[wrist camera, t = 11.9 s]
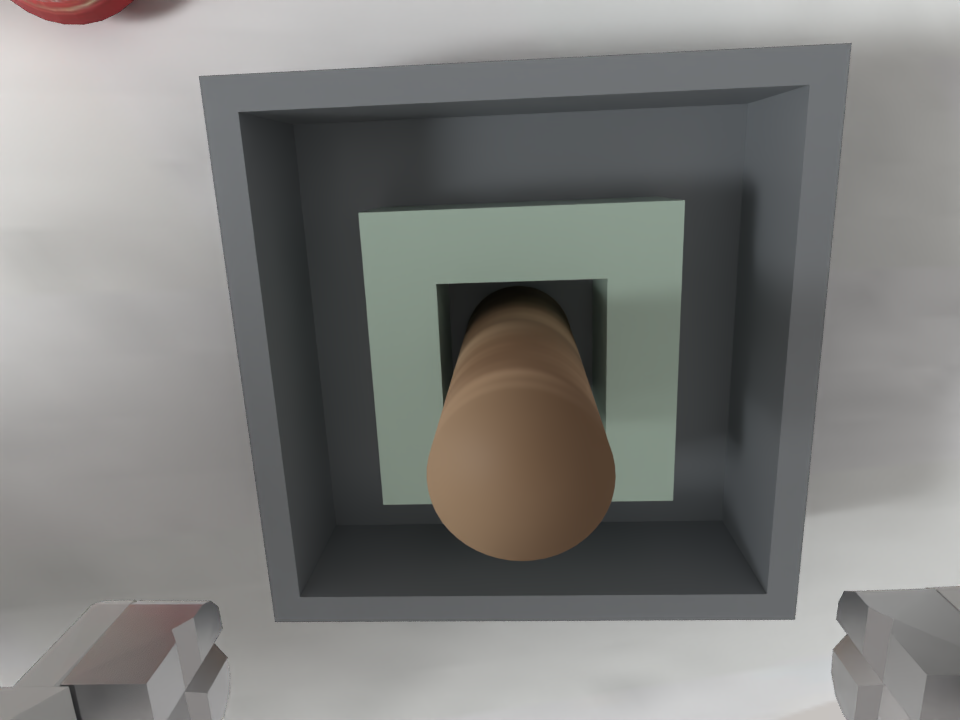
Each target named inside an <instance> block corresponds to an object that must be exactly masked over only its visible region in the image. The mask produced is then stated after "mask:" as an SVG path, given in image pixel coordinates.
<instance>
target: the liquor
mask: <svg viewBox="0 0 960 720" xmlns="http://www.w3.org/2000/svg"><path fill="white" fill-rule="evenodd" d="M11 1H12V2H14V3H15V4H17V5H18V6H20V7H21V8H23V9H24V10H26V11H27V12H29V13H31V14H34V15H36V16H38V17H40V18H43V19H45V20H48V21H53V22H57V23H61V24H82V25H84V24H89V23H93V22H98V21H102V20H104V19H106V18H108V17H110V16H113V15H115V14H117V13H119V12H120V11H121V10H122V9H124V8H125V7H126V6H127V5H129V4H130V3H131V2H132V1H134V0H11Z"/></svg>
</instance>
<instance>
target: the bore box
mask: <svg viewBox="0 0 960 720" xmlns="http://www.w3.org/2000/svg"><path fill="white" fill-rule="evenodd" d="M850 52H851V43H843V44H824V45H804V46H784V47H764V48H745V49H725V50H705V51H685V52H666V53H646V54H626V55H606V56H587V57H567V58H547V59H527V60H508V61H488V62H468V63H449V64H429V65H409V66H389V67H370V68H350V69H330V70H310V71H291V72H271V73H251V74H231V75H212V76H199V80H200V87H201V95H202V102H203V109H204V116H205V123H206V130H207V137H208V145H209V152H210V159H211V166H212V173H213V180H214V188H215V195H216V202H217V209H218V216H219V223H220V230H221V238H222V245H223V252H224V259H225V266H226V273H227V280H228V288H229V295H230V302H231V309H232V316H233V323H234V331H235V338H236V345H237V352H238V359H239V366H240V373H241V381H242V388H243V395H244V402H245V409H246V416H247V424H248V431H249V438H250V445H251V452H252V459H253V466H254V474H255V481H256V488H257V495H258V502H259V509H260V517H261V524H262V531H263V538H264V545H265V552H266V559H267V567H268V574H269V581H270V588H271V595H272V602H273V610H274V617H275V622H373V621H600V620H795V613H796V603H797V593H798V583H799V573H800V562H801V552H802V542H803V532H804V522H805V511H806V501H807V491H808V481H809V470H810V460H811V450H812V440H813V430H814V419H815V409H816V399H817V389H818V379H819V368H820V358H821V348H822V338H823V328H824V317H825V307H826V297H827V287H828V277H829V266H830V256H831V246H832V236H833V226H834V215H835V205H836V195H837V185H838V175H839V164H840V154H841V144H842V134H843V123H844V113H845V103H846V93H847V83H848V72H849V62H850ZM511 286H526V287H531V288H535V289H538V290H540V291H542V292H544V293H546V294H548V295H549V296H551V297H552V298H553V299H554V300H555V301H556V302H557V303H558V304H559V305H560V306H561V308H562V309H563V311H564V313H565V315H566V316H567V319H568V322H569V325H570V328H571V331H572V334H573V337H574V340H575V343H576V346H577V349H578V352H579V355H580V358H581V361H582V364H583V367H584V370H585V373H586V376H587V379H588V382H589V385H590V388H591V391H592V394H593V397H594V400H595V403H596V406H597V409H598V412H599V415H600V418H601V421H602V424H603V427H604V430H605V433H606V436H607V439H608V442H609V445H610V448H611V451H612V454H613V458H614V463H615V473H616V480H615V489H614V494H613V498H612V501H611V503H610V506H609V508H608V511H607V512H606V514H605V516H604V518H603V519H602V521H601V522H600V524H599V525H598V526H597V527H596V529H595V530H594V531H593V532H592V533H591V534H590V535H589V536H588V537H587V538H585V539H584V540H583V541H582V542H580V543H579V544H578V545H576V546H574V547H572V548H571V549H569V550H567V551H565V552H563V553H560V554H558V555H555V556H552V557H548V558H545V559H539V560H532V561H511V560H505V559H499V558H495V557H492V556H488V555H486V554H483V553H481V552H479V551H476V550H475V549H473V548H471V547H469V546H468V545H466V544H465V543H463V542H462V541H461V540H459V539H458V538H457V537H456V536H455V535H453V534H452V533H451V532H450V531H449V530H448V528H447V527H446V526H445V525H444V524H443V522H442V521H441V519H440V518H439V516H438V514H437V513H436V511H435V509H434V507H433V504H432V502H431V499H430V495H429V492H428V486H427V463H428V457H429V453H430V450H431V447H432V443H433V440H434V437H435V433H436V430H437V426H438V423H439V420H440V416H441V413H442V410H443V406H444V403H445V400H446V396H447V393H448V390H449V386H450V383H451V379H452V376H453V373H454V369H455V366H456V363H457V359H458V356H459V353H460V349H461V346H462V343H463V339H464V336H465V333H466V329H467V326H468V322H469V319H470V317H471V315H472V313H473V311H474V310H475V308H476V307H477V305H478V304H479V303H480V302H481V301H482V300H483V299H484V298H485V297H487V296H488V295H490V294H491V293H493V292H495V291H497V290H500V289H502V288H506V287H511Z"/></svg>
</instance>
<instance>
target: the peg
mask: <svg viewBox="0 0 960 720" xmlns="http://www.w3.org/2000/svg"><path fill="white" fill-rule="evenodd" d="M615 480H616V473H615V463H614V458H613V454H612V451H611V448H610V445H609V442H608V439H607V436H606V433H605V430H604V427H603V424H602V421H601V418H600V415H599V412H598V409H597V406H596V403H595V400H594V397H593V394H592V391H591V388H590V385H589V382H588V379H587V376H586V373H585V370H584V367H583V364H582V361H581V358H580V355H579V352H578V349H577V346H576V343H575V340H574V337H573V334H572V331H571V328H570V325H569V322H568V319H567V316H566V315H565V313H564V311H563V309H562V308H561V306H560V305H559V304H558V303H557V302H556V301H555V300H554V299H553V298H552V297H551V296H549V295H548V294H546V293H544V292H542V291H540V290H538V289H535V288H531V287H526V286H511V287H506V288H502V289H500V290H497V291H495V292H493V293H491V294H490V295H488V296H487V297H485V298H484V299H483V300H482V301H481V302H480V303H479V304H478V305H477V307H476V308H475V310H474V311H473V313H472V315H471V317H470V319H469V322H468V326H467V329H466V333H465V336H464V339H463V343H462V346H461V349H460V353H459V356H458V359H457V363H456V366H455V369H454V373H453V376H452V379H451V383H450V386H449V390H448V393H447V396H446V400H445V403H444V406H443V410H442V413H441V416H440V420H439V423H438V426H437V430H436V433H435V437H434V440H433V443H432V447H431V450H430V453H429V457H428V463H427V486H428V492H429V495H430V499H431V502H432V504H433V507H434V509H435V511H436V513H437V514H438V516H439V518H440V519H441V521H442V522H443V524H444V525H445V526H446V527H447V528H448V530H449V531H450V532H451V533H452V534H453V535H455V536H456V537H457V538H458V539H459V540H461V541H462V542H463V543H465V544H466V545H468V546H469V547H471V548H473V549H475V550H476V551H479V552H481V553H483V554H486V555H488V556H492V557H495V558H499V559H505V560H511V561H532V560H539V559H545V558H548V557H552V556H555V555H558V554H560V553H563V552H565V551H567V550H569V549H571V548H572V547H574V546H576V545H578V544H579V543H580V542H582V541H583V540H584V539H585V538H587V537H588V536H589V535H590V534H591V533H592V532H593V531H594V530H595V529H596V527H597V526H598V525H599V524H600V522H601V521H602V519H603V518H604V516H605V514H606V512H607V511H608V508H609V506H610V503H611V501H612V498H613V494H614V489H615Z"/></svg>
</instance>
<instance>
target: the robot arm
mask: <svg viewBox="0 0 960 720" xmlns="http://www.w3.org/2000/svg"><path fill="white" fill-rule="evenodd" d="M836 620H837V621H838V622H839V624H840V625H841V627H842V628H843V629H844V631H845V632H846V633H847V635H846V636H845V637H844V638H843V639H842V640H841V641H840V642H839V643H838V644H837V646H836V647H835V648H834V649H833V654H832V668H831V674H832V680H833V685H834V691H835V696H836V698H837V701H838V703H839V706H840V708H841V711H842V713H843V715H844V717H845V718H846V720H960V586H951V587H931V588H925V589H899V590H867V591H844V592H843V594H842V596H841V598H840V600H839V603H838V610H837V618H836ZM222 629H223V627H222V623H221V618H220V613H219V608H218V606H217V605H215V604H214V603H213V602H212V601H165V600H140V601H135V600H123V601H102V602H99V603H95V604H92V605H91V607H90V608H89V609H88V610H87V611H86V612H85V613H84V614H83V615H82V616H81V617H80V618H79V619H78V620H77V621H76V622H75V623H74V624H73V625H72V626H71V627H70V628H69V629H68V630H67V631H66V632H65V633H64V634H63V635H62V636H61V638H60V639H59V640H58V641H57V642H56V643H55V644H54V645H53V646H52V647H51V648H50V649H49V650H48V651H47V652H46V653H45V654H44V655H43V656H42V657H41V658H40V659H39V660H38V661H37V662H36V663H35V664H34V665H33V666H32V667H31V669H30V670H29V671H28V672H27V673H26V674H25V675H24V676H23V677H22V678H21V679H20V680H19V681H18V682H17V683H16V684H15V685H14V686H13V687H0V720H222V719H223V717H224V714H225V710H226V706H227V701H228V697H229V693H230V670H229V663H228V657H227V656H226V655H225V654H224V653H223V652H222V651H221V650H220V649H219V648H218V647H217V646H216V645H215V644H214V642H215V641H216V639H217V637H218V636H219V634H220V632H221V631H222Z"/></svg>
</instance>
